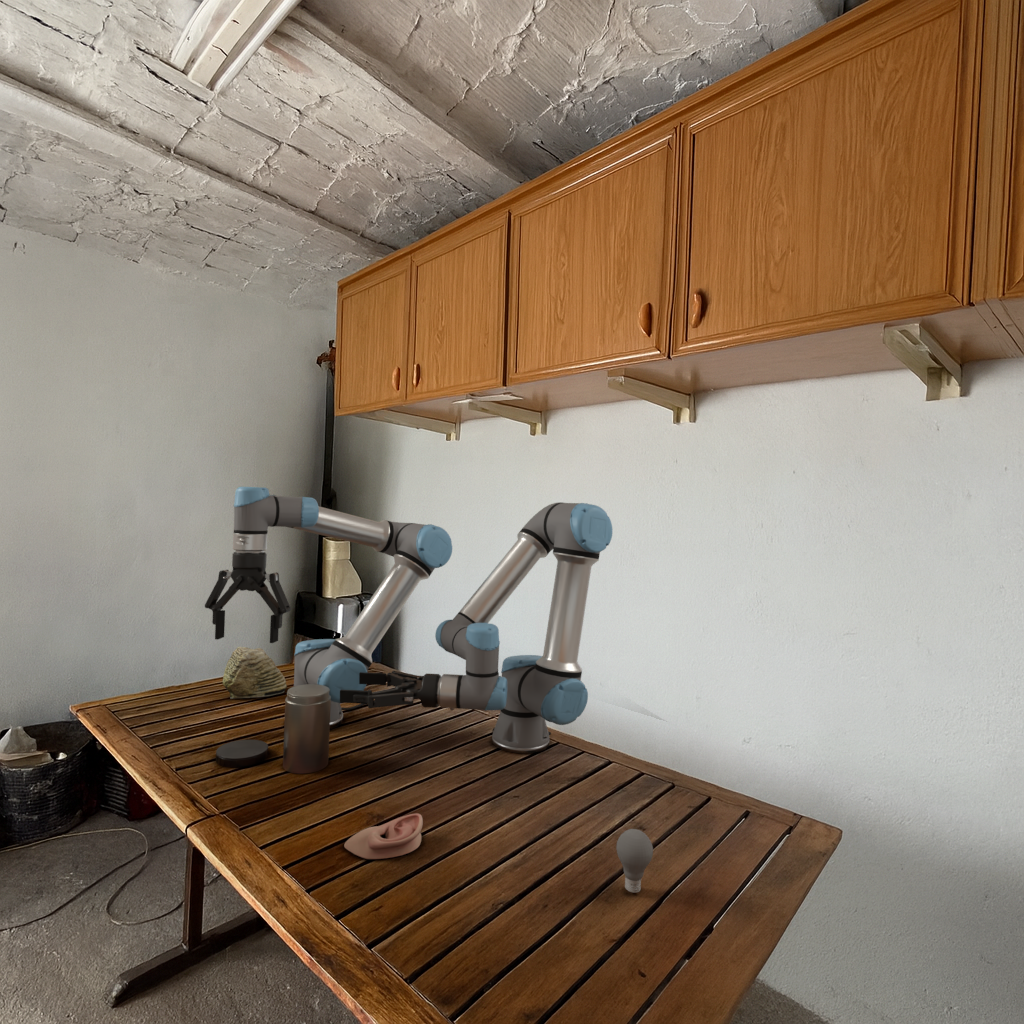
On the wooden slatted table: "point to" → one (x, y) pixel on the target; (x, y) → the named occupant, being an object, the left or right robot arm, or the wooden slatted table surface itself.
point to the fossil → (252, 674)
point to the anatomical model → (387, 838)
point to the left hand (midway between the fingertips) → (246, 640)
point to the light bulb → (634, 857)
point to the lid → (242, 753)
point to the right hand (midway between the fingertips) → (350, 686)
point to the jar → (306, 728)
